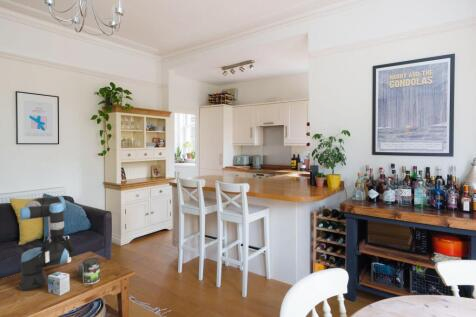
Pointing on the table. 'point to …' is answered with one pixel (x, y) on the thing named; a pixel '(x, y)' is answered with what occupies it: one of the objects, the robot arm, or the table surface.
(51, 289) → the light bulb box
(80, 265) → the grey domed cylinder
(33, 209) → the robot arm
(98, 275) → the coffee can
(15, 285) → the table surface
